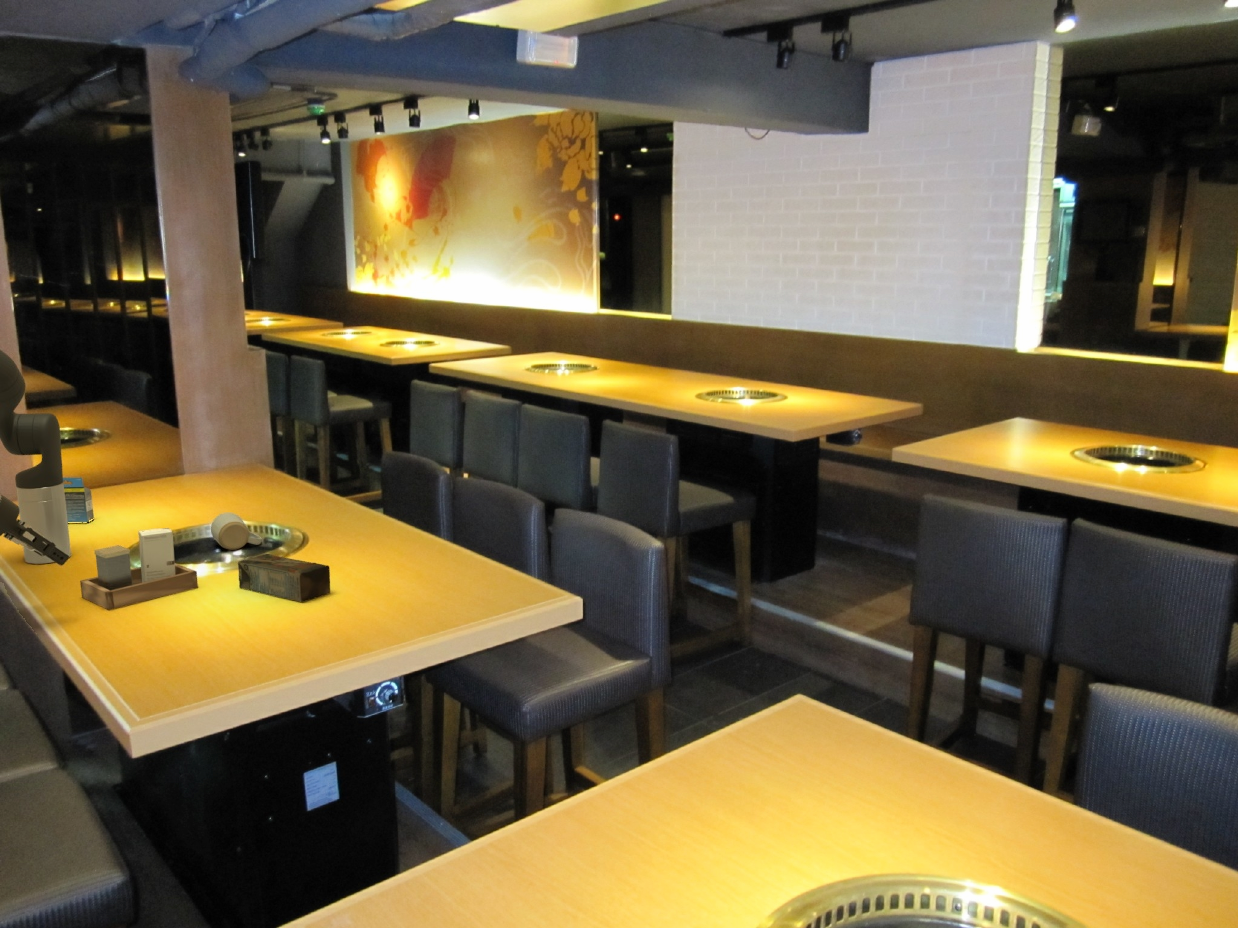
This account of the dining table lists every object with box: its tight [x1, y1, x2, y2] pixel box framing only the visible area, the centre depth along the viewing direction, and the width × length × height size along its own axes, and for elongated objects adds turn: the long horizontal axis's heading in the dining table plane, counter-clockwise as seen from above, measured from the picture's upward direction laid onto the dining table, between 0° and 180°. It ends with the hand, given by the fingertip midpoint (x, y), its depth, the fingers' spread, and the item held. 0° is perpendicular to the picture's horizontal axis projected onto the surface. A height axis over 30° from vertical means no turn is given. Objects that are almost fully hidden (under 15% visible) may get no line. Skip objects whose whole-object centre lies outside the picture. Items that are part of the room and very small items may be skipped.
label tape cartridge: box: [63, 476, 95, 522], centre depth 258 cm, size 9×4×12 cm, turn 92°
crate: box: [79, 563, 199, 611], centre depth 203 cm, size 12×18×4 cm, turn 141°
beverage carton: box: [237, 553, 331, 603], centre depth 204 cm, size 8×19×7 cm, turn 59°
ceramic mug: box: [210, 512, 263, 551], centre depth 237 cm, size 11×8×8 cm
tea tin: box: [94, 544, 132, 590], centre depth 199 cm, size 5×5×10 cm
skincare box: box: [138, 527, 175, 583], centre depth 205 cm, size 6×4×12 cm
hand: (55, 556), depth 190 cm, fingers open, 8 cm apart
